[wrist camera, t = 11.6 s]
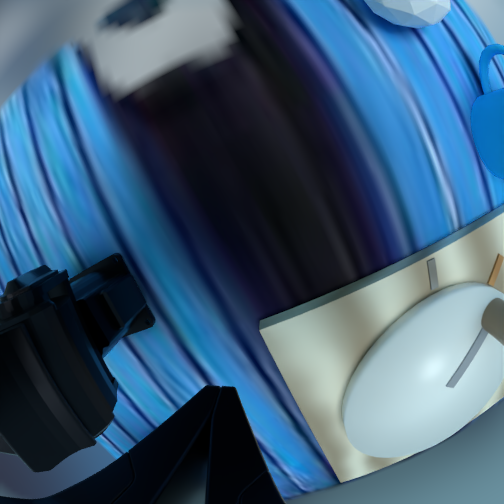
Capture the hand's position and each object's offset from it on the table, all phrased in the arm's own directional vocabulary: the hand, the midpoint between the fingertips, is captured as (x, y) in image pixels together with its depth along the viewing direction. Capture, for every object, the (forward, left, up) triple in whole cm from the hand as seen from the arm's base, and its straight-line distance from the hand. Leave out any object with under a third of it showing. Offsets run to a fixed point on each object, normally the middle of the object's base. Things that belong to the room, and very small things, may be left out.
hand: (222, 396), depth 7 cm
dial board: (+12, -17, -13) cm, 25 cm away
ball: (+20, +16, -13) cm, 29 cm away
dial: (+12, -17, -11) cm, 24 cm away
